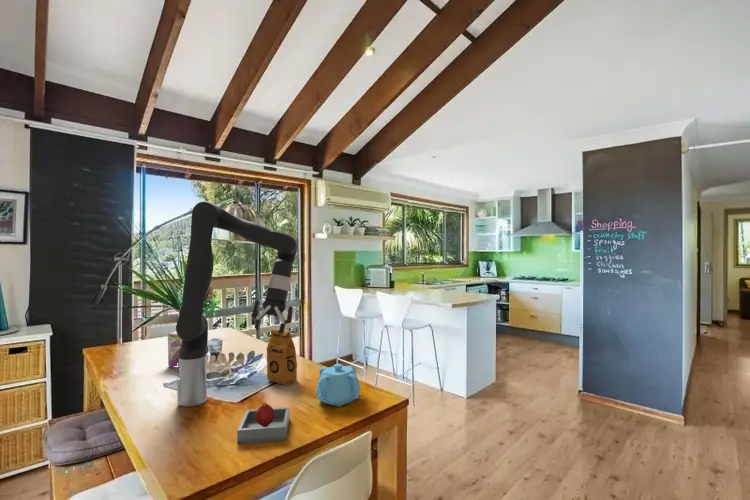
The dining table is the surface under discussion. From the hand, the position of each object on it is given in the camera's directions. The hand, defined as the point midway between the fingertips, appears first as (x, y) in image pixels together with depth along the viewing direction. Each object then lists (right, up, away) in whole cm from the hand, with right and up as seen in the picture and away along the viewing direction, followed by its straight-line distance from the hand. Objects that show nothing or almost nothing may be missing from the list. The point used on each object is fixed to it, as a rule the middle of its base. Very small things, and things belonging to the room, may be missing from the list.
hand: (268, 332), depth 139 cm
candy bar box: (-56, -27, +47) cm, 77 cm away
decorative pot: (+25, -27, +5) cm, 37 cm away
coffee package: (-1, -27, +26) cm, 37 cm away
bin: (+4, -27, -18) cm, 33 cm away
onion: (+4, -26, -17) cm, 32 cm away
